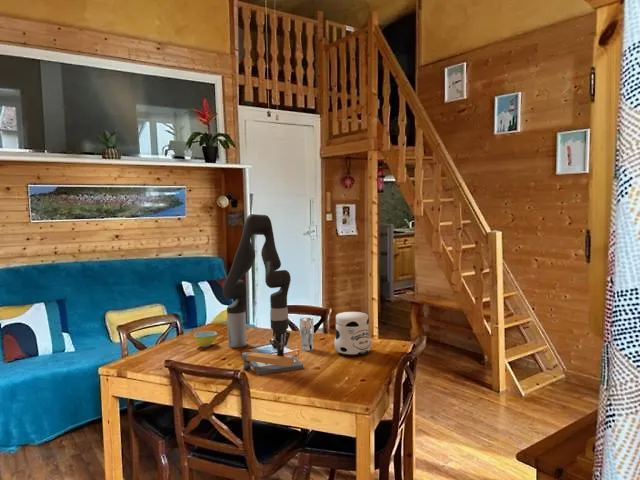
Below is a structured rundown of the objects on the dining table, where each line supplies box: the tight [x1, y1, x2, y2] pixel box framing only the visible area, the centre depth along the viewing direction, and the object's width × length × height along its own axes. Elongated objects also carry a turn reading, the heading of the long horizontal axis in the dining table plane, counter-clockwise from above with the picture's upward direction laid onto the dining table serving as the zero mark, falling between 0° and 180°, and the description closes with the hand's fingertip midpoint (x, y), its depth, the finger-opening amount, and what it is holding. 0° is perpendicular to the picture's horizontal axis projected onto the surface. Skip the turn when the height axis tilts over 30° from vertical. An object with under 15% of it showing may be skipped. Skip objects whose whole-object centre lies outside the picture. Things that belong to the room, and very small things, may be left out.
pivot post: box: [243, 360, 252, 371], centre depth 209 cm, size 3×3×4 cm
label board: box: [251, 355, 304, 375], centre depth 211 cm, size 14×20×2 cm
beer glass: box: [299, 317, 315, 352], centre depth 235 cm, size 7×7×15 cm
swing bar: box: [241, 351, 294, 367], centre depth 204 cm, size 24×4×2 cm, turn 65°
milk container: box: [333, 311, 372, 357], centre depth 228 cm, size 17×17×18 cm
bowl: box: [193, 330, 218, 348], centre depth 246 cm, size 11×12×6 cm
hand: (280, 357), depth 205 cm, fingers closed
